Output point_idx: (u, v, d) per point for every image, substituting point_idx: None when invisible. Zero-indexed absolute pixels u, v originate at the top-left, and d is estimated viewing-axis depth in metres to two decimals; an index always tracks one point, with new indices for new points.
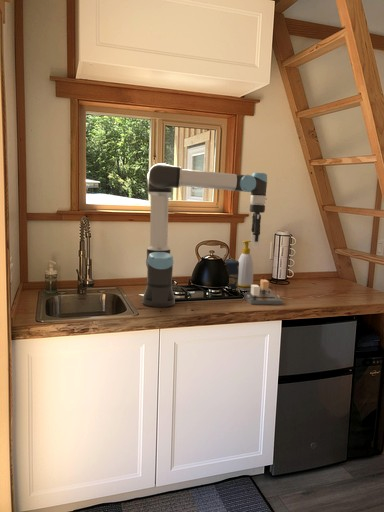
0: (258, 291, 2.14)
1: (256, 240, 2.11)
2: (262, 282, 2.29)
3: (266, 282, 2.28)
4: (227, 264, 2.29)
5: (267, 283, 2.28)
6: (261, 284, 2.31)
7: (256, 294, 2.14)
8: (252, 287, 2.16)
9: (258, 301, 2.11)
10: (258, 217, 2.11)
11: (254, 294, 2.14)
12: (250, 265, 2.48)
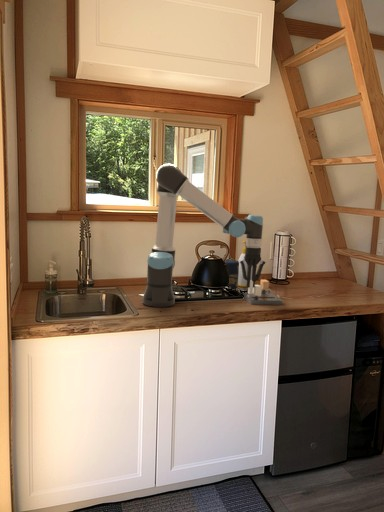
0: (260, 291, 2.15)
1: (247, 285, 2.16)
2: (262, 282, 2.29)
3: (266, 282, 2.28)
4: (227, 264, 2.29)
5: (267, 283, 2.28)
6: (261, 284, 2.31)
7: (258, 294, 2.15)
8: (254, 287, 2.16)
9: (258, 301, 2.11)
10: (241, 263, 2.13)
11: (256, 294, 2.14)
12: None
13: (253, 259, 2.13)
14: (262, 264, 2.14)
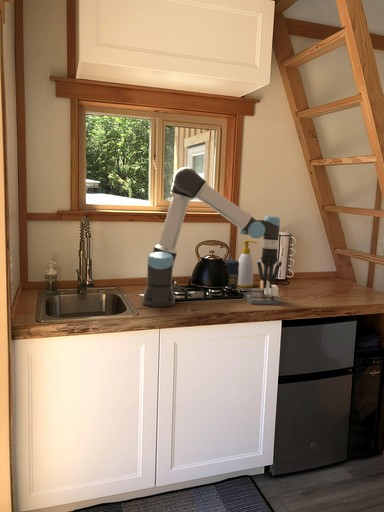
0: (277, 291, 2.16)
1: (263, 286, 2.17)
2: (262, 282, 2.29)
3: None
4: (227, 264, 2.29)
5: None
6: (261, 284, 2.31)
7: (275, 294, 2.16)
8: None
9: (258, 301, 2.11)
10: (257, 264, 2.14)
11: (273, 294, 2.16)
12: (250, 265, 2.48)
13: (270, 260, 2.14)
14: (279, 265, 2.15)
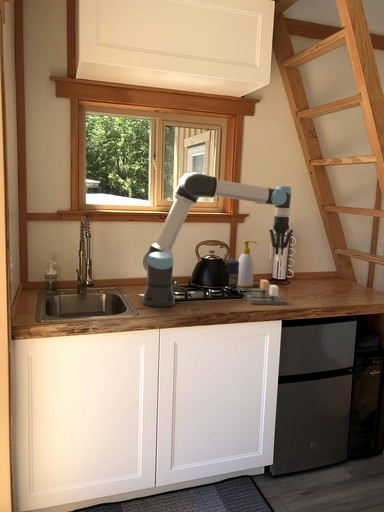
0: (277, 291, 2.16)
1: (275, 253, 2.29)
2: (262, 282, 2.29)
3: (266, 282, 2.28)
4: (227, 264, 2.29)
5: (267, 283, 2.28)
6: (261, 284, 2.31)
7: (275, 294, 2.16)
8: (270, 287, 2.18)
9: (258, 301, 2.11)
10: (270, 232, 2.26)
11: (273, 294, 2.16)
12: (250, 265, 2.48)
13: (281, 227, 2.26)
14: (290, 232, 2.27)
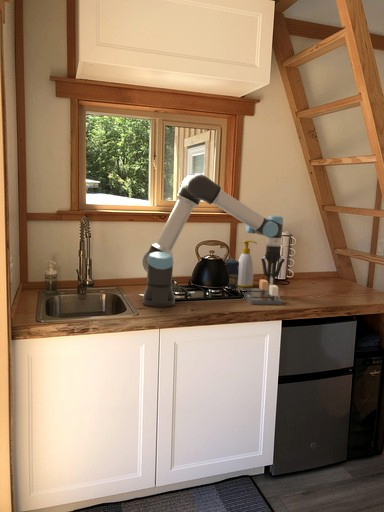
0: (277, 291, 2.16)
1: None
2: (261, 282, 2.29)
3: (265, 282, 2.28)
4: (227, 264, 2.29)
5: (266, 283, 2.28)
6: (260, 284, 2.31)
7: (275, 294, 2.16)
8: (270, 287, 2.18)
9: (258, 301, 2.11)
10: (262, 261, 2.28)
11: (273, 294, 2.16)
12: (250, 265, 2.48)
13: (273, 257, 2.28)
14: (281, 261, 2.29)
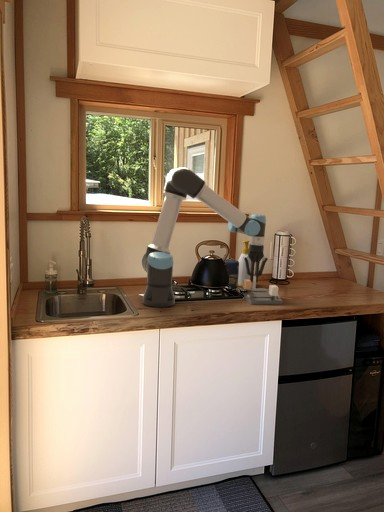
0: (277, 291, 2.16)
1: (250, 280, 2.29)
2: (244, 282, 2.28)
3: (248, 282, 2.27)
4: (227, 264, 2.29)
5: (249, 283, 2.27)
6: (244, 284, 2.29)
7: (275, 294, 2.16)
8: (270, 287, 2.18)
9: (258, 301, 2.11)
10: None
11: (273, 294, 2.16)
12: (250, 265, 2.48)
13: (256, 256, 2.26)
14: (265, 260, 2.27)
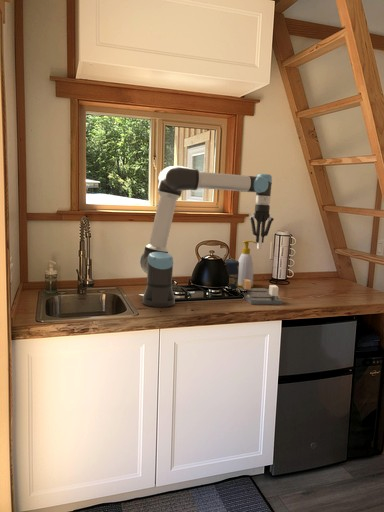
0: (277, 291, 2.16)
1: (256, 241, 2.29)
2: (244, 282, 2.28)
3: (248, 282, 2.27)
4: (227, 264, 2.29)
5: (249, 283, 2.27)
6: (244, 284, 2.29)
7: (275, 294, 2.16)
8: (270, 287, 2.18)
9: (258, 301, 2.11)
10: (250, 220, 2.27)
11: (273, 294, 2.16)
12: (250, 265, 2.48)
13: (262, 216, 2.27)
14: (271, 221, 2.28)
